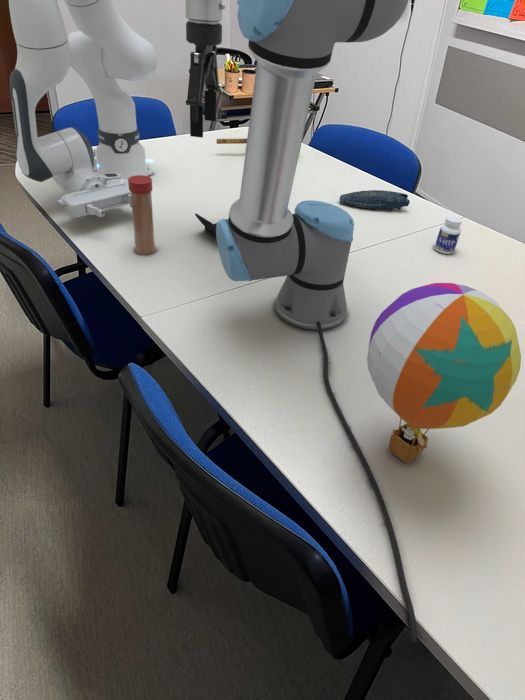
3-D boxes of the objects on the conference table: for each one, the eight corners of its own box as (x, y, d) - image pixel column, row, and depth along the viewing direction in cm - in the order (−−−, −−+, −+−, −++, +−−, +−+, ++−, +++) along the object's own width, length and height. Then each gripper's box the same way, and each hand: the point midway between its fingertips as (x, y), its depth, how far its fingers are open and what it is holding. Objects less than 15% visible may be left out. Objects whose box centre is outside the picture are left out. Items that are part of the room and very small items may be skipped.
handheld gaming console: (252, 231, 136) (235, 208, 128) (239, 253, 135) (221, 232, 127) (220, 222, 143) (201, 200, 134) (207, 244, 141) (188, 223, 133)
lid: (127, 193, 116) (126, 183, 115) (130, 184, 120) (129, 174, 119) (151, 194, 117) (150, 184, 115) (153, 185, 121) (153, 175, 119)
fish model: (408, 214, 157) (412, 198, 153) (339, 207, 158) (341, 191, 154) (406, 206, 162) (410, 190, 159) (339, 199, 163) (341, 183, 160)
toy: (317, 443, 83) (351, 282, 64) (393, 393, 94) (441, 242, 75) (417, 530, 72) (494, 366, 53) (490, 462, 83) (575, 305, 64)
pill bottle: (433, 251, 139) (442, 220, 133) (435, 243, 143) (444, 213, 137) (453, 256, 138) (464, 225, 132) (454, 247, 142) (465, 217, 136)
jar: (134, 254, 126) (128, 184, 115) (137, 245, 130) (131, 177, 119) (153, 255, 127) (149, 185, 116) (156, 246, 130) (151, 178, 119)
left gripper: (52, 187, 129) (79, 206, 122) (124, 172, 141) (153, 188, 133) (56, 211, 133) (82, 231, 126) (126, 194, 145) (154, 212, 137)
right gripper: (208, 31, 98) (207, 146, 111) (233, 16, 117) (229, 116, 130) (169, 26, 98) (173, 141, 112) (200, 13, 118) (200, 112, 131)
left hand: (119, 209), depth 130 cm, fingers open, 8 cm apart
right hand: (203, 128), depth 121 cm, fingers open, 13 cm apart
